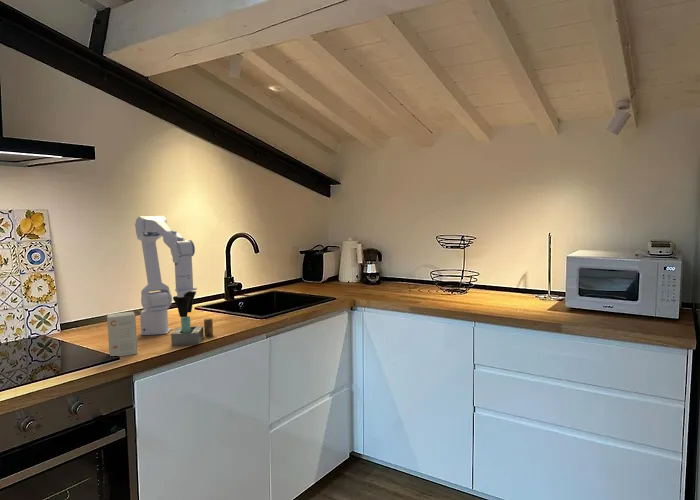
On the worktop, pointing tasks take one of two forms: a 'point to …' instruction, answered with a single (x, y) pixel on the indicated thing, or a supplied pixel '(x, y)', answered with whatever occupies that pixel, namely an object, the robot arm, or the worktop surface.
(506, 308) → the worktop surface
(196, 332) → the bore block
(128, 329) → the small box
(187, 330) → the teal dowel
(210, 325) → the walnut dowel
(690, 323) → the worktop surface
